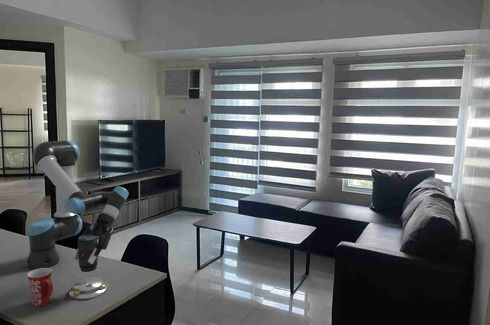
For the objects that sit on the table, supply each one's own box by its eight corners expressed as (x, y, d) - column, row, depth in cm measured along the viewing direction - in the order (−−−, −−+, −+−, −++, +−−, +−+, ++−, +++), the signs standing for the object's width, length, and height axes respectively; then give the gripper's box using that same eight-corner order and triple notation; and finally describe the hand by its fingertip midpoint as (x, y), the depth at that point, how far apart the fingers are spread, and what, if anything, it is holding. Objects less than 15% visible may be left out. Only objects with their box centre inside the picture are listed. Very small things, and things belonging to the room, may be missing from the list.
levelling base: (78, 282, 171) (78, 275, 171) (112, 282, 172) (112, 275, 171) (62, 299, 155) (62, 291, 155) (100, 299, 156) (99, 292, 156)
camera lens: (91, 273, 157) (90, 241, 155) (74, 271, 159) (73, 239, 157) (102, 266, 165) (101, 235, 163) (86, 264, 167) (85, 233, 165)
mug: (25, 303, 152) (23, 273, 150) (46, 294, 159) (45, 265, 157) (39, 313, 145) (37, 281, 143) (61, 303, 152) (60, 273, 150)
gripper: (129, 223, 170) (105, 268, 157) (95, 217, 177) (69, 260, 165) (121, 215, 164) (95, 261, 152) (86, 209, 172) (59, 253, 159)
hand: (82, 260), depth 158 cm, fingers closed on camera lens, 8 cm apart
